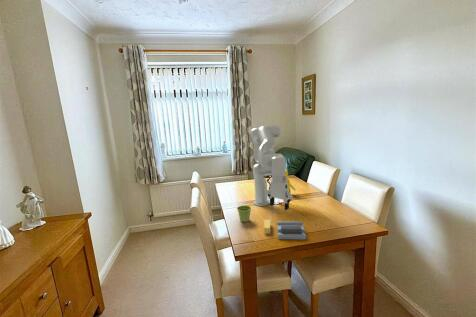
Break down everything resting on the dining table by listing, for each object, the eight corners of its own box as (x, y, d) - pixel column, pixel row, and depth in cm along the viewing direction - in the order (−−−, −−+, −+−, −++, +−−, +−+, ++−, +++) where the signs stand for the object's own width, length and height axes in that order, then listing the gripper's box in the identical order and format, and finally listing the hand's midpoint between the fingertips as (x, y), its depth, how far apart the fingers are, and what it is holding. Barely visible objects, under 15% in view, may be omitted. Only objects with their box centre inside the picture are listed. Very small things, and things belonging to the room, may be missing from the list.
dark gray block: (300, 232, 131) (300, 226, 130) (301, 235, 127) (301, 229, 127) (281, 232, 132) (280, 226, 132) (281, 235, 129) (281, 229, 128)
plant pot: (243, 216, 159) (242, 204, 157) (254, 219, 153) (254, 207, 152) (234, 221, 152) (234, 208, 150) (246, 224, 146) (245, 212, 144)
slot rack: (277, 225, 143) (277, 221, 143) (302, 225, 141) (302, 221, 141) (278, 238, 128) (278, 234, 127) (306, 239, 126) (306, 235, 125)
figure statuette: (295, 192, 200) (295, 167, 196) (297, 195, 193) (296, 170, 189) (274, 193, 201) (274, 168, 197) (275, 196, 194) (275, 170, 190)
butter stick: (264, 225, 145) (264, 219, 144) (270, 225, 144) (270, 219, 143) (264, 234, 134) (264, 227, 133) (270, 234, 133) (270, 228, 133)
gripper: (296, 179, 125) (296, 208, 128) (270, 174, 137) (270, 201, 140) (288, 182, 120) (289, 213, 123) (262, 177, 131) (263, 205, 135)
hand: (279, 207), depth 131 cm, fingers open, 9 cm apart
